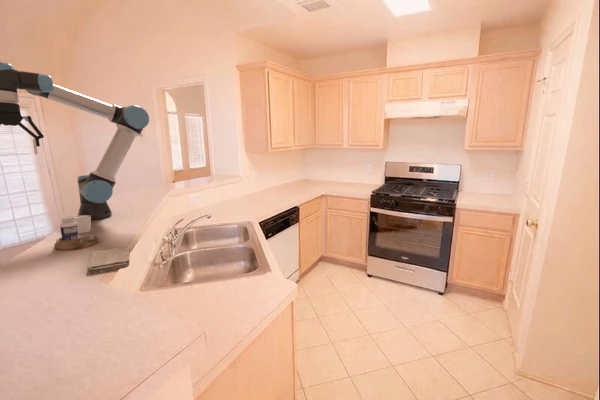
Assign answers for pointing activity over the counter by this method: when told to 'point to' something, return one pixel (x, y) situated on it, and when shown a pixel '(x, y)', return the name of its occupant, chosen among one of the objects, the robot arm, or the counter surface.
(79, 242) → the fire pit
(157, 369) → the counter surface
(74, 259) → the counter surface
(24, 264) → the counter surface
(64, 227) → the pill bottle
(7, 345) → the counter surface
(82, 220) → the white cup
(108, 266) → the washcloth
